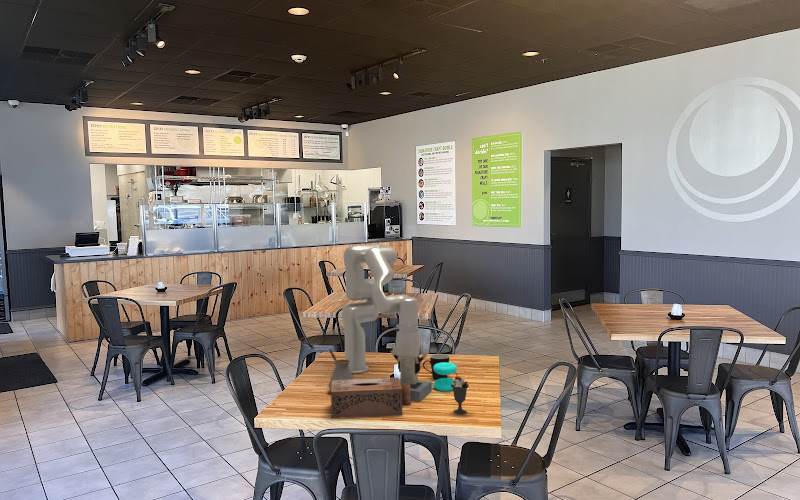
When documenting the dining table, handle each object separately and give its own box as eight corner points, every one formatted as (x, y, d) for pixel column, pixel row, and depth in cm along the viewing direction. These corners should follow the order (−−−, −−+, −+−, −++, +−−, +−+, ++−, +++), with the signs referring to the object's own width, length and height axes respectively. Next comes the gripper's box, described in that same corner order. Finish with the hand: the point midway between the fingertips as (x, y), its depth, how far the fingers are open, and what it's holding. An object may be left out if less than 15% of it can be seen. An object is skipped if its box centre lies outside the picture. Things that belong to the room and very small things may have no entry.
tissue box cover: (398, 402, 230) (398, 377, 229) (402, 415, 216) (402, 388, 215) (332, 405, 228) (331, 380, 227) (331, 418, 213) (330, 391, 213)
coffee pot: (360, 393, 241) (359, 357, 240) (333, 398, 236) (332, 361, 235) (342, 380, 260) (341, 346, 259) (317, 384, 255) (316, 349, 254)
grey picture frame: (386, 397, 235) (386, 387, 235) (400, 387, 248) (400, 378, 248) (419, 401, 230) (419, 391, 230) (431, 391, 243) (431, 381, 243)
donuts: (459, 362, 249) (453, 368, 240) (459, 385, 250) (453, 392, 241) (437, 360, 253) (430, 366, 243) (437, 383, 253) (430, 390, 244)
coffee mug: (449, 375, 265) (449, 354, 264) (449, 381, 256) (449, 358, 256) (423, 375, 266) (423, 353, 265) (422, 381, 257) (422, 358, 257)
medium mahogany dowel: (399, 405, 226) (399, 385, 226) (403, 402, 230) (403, 383, 229) (408, 406, 225) (408, 386, 225) (412, 403, 228) (411, 384, 228)
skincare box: (418, 382, 240) (418, 352, 239) (415, 385, 236) (414, 355, 235) (403, 380, 242) (403, 351, 241) (399, 383, 238) (399, 353, 237)
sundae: (449, 409, 221) (449, 370, 220) (467, 408, 221) (466, 369, 220) (452, 415, 214) (452, 375, 213) (470, 414, 215) (470, 374, 214)
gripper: (385, 328, 237) (385, 372, 239) (425, 331, 231) (426, 376, 232) (392, 324, 244) (393, 367, 245) (432, 327, 238) (432, 371, 239)
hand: (409, 371), depth 239 cm, fingers closed on skincare box, 6 cm apart
